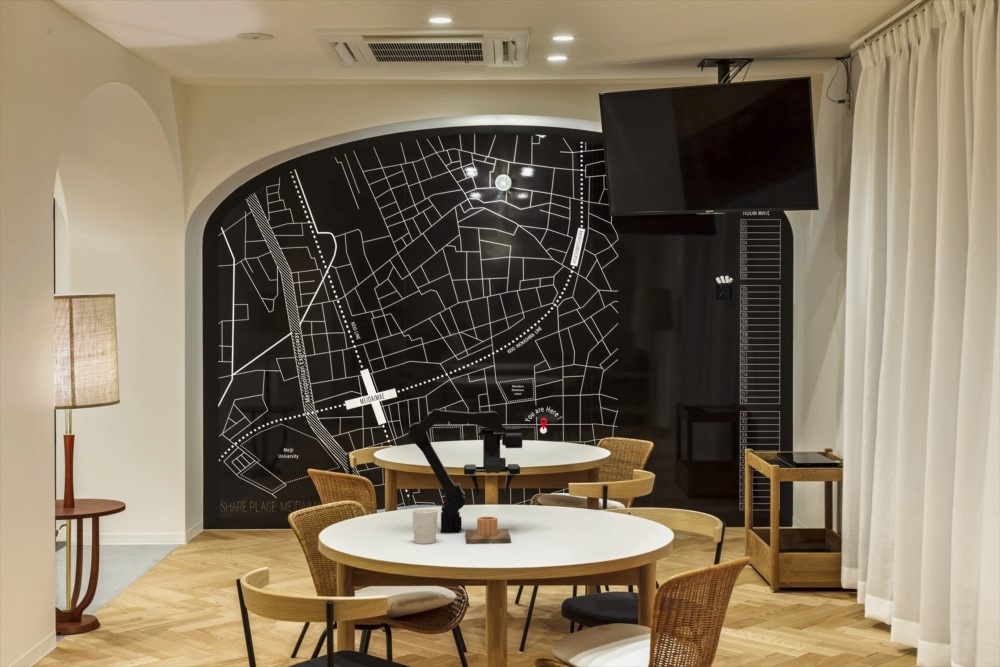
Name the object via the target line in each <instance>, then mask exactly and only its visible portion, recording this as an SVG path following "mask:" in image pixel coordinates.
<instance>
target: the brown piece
mask: <svg viewBox="0 0 1000 667" xmlns="http://www.w3.org/2000/svg"><path fill="white" fill-rule="evenodd" d="M484 519H485V520H489V519H491V518H484ZM490 543H492V544H512V538H511V535H510V531H509V529H508V528H497V535H492V536H482V535H478V534H477V529H476V528H475V529H473V528H472V529H465V544H466V545H471V544H472V545H473V544H475V545H476V544H478V545H479V544H480V545H481V544H482V545H483V544H487V545H488V544H490Z"/></svg>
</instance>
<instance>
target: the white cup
mask: <svg viewBox="0 0 1000 667" xmlns="http://www.w3.org/2000/svg"><path fill="white" fill-rule="evenodd" d="M412 528H413V541H414V543H415V544H419V545H432V544H434V543H436V541H437V528H438V509H436V508H416V509H412Z"/></svg>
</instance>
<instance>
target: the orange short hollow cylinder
mask: <svg viewBox="0 0 1000 667" xmlns="http://www.w3.org/2000/svg"><path fill="white" fill-rule="evenodd" d="M484 518H491V519H489V520H485V519H484ZM476 519H477V520H476V522H477V523H476V524H477V525H476V526H477V534H478V535H482V536H492V535H497V529H498V517H495V516H480V517H477V518H476Z"/></svg>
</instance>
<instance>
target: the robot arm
mask: <svg viewBox="0 0 1000 667" xmlns="http://www.w3.org/2000/svg"><path fill="white" fill-rule="evenodd" d="M438 422H448V423H460V424H461V423H462V424H471V425H472V424H473V425H475V426H479V427H482V428H481V429H480V430H479V431H477V435H478V436H482V437H483V438H482V441H483V442H482V445H483V447H482V449H483V450H482V452H483V453H482V457H483V459H482V461H483V462H482V465H483V466H476V464H475V463H473V464H471V463H470V464H468V463H467V464H466V463H465V465H464V466H463V475H467V477H468V478H471V480H472V482H473V484H474V488H475V491H476V495H477V496H480V493H479V492H480V490H479V484H478V476H477V473H486V474H492V473H495V474H499V473H503V472H504V473H505V474H506V475H505V476H506V477H505V483H504V484H505V486H504V495H505V496H507V494H508V490H509V487H510V484H511V482H512V479H513V478H514V477H517V475H521V466H520V465H519V464H518V463H508V464H507V462H506V457H501V445H502V446H504V447H505V449H523V434H522V428H521V427H516V428H515V427H514V428H506V427H505V425H503V424H502V423H501V417H500V415H499V413H498V412H496V411H495V410H484V411H477V412H472V411H469V412H468V411H460V410H459V411H458V410H446V409H439V408H434V409H432V411H431V412H430V413H429V414H427V415H426V416H425V417H424V418H422V420H420V421H419V422H417V421H416V422H413V423H412V424H411V425H410V426H409V428H408V433H407V434H408V437H409V438H410V440H411V441H412V442H413V443H414V445H416V446H417V447H418V448H419V450H420V451H421V452H422V454H423V456H424V457H425V459H426V461H427V462H428V465H429V466H430V468H431V469H432V470H431V471H432V472H433V473H434V475H435V477H436V478H437V479H438V480H437V481H438V482H439V484H440V485H441V487H442V491H443V493H444V496H445V501H444V502H443V503H442V504H441V512H440V533H441V534H448V533H449V534H452V533H454V534H455V533H456V534H457V533H459V534H460V533H461V531H462V528H463V527H462V516H460V514H461V512H460V511H459V510H460V509H462V508H464V506H465V502H466V500H465V499H466V498H465V495H466V492H465V491H464V489H462V487H461V484H460V482H457V483H455V482H454V480H452V479H451V477H450V475H449V473H448V471H447V469H446V468H445V466H444V464H443V463H442V461H441V459H440V457H439V456H438V454H437V452H436V450H435V448H434V447H433V445H432V443H431V440H430V437H429V434H428V431H429V430H430V429H431V428H433V426H434V425H436V424H437V423H438ZM485 428H486V429H485ZM494 429H495V430H496V431H498V432H494ZM506 465H507V466H506Z"/></svg>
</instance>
